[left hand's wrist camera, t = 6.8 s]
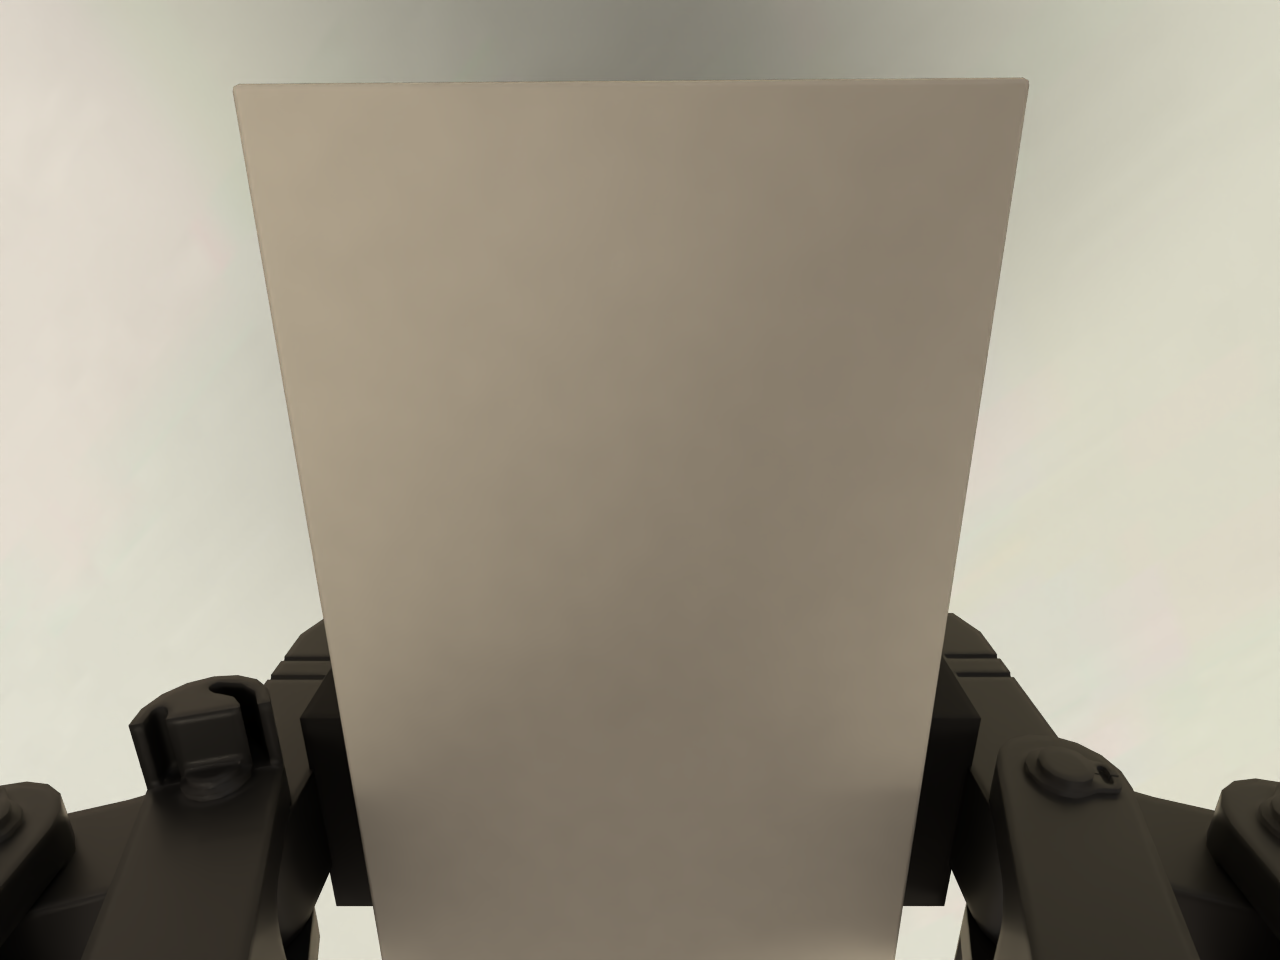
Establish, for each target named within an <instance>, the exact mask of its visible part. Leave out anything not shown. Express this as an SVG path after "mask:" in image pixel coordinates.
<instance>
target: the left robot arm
mask: <svg viewBox="0 0 1280 960" xmlns="http://www.w3.org/2000/svg"><path fill="white" fill-rule="evenodd" d="M129 729H130V732H131V735H132V739H133V742H134V746H135V749H136V752H137V756H138V759H139V762H140V766H141V769H142V772H143V776H144V779H145V783H146V786H147V789H148V790H147V792H146V795H144V796H140V797H137V798H134V799H130V800H126V801H122V802H117V803H113V804H108V805H104V806H99V807H95V808H90V809H86V810H82V811H77V812H73V813H68V814H67V811H66V808H65V806H64V803H63V800H62V797H61V794H60V793H59V792H58V791H56V790H55V789H54V788H52V787H51V786H50V785H48V784H42V783H34V782H21V783H14V784H8V785H1V786H0V960H318V951H319V940H320V934H319V928H318V921H317V916H316V912H315V907H314V906H315V904H316V902H317V900H318V897H319V895H320V893H321V891H322V888H323V886H324V884H325V882H326V879H327V877H328V875H329V873H330V875H331V880H332V886H333V891H334V896H335V901H336V906H373V903H372V898H371V892H370V886H369V880H368V874H367V869H366V863H365V857H364V851H363V845H362V839H361V834H360V828H359V822H358V816H357V810H356V805H355V799H354V793H353V787H352V781H351V775H350V770H349V764H348V758H347V752H346V746H345V741H344V735H343V729H342V723H341V717H340V712H339V706H338V700H337V694H336V688H335V682H334V677H333V671H332V665H331V659H330V653H329V648H328V642H327V636H326V630H325V624H324V619H323V620H321V621H320V622H318V623H317V624H315V625H314V626H312V627H311V628H309V629H308V630H307V631H305V632H304V633H302V634H301V635H300V636H299V638H298V639H297V640H296V642H295V643H294V644H293V646H292V647H291V648H290V650H289V651H288V653H287V654H286V655H285V659H284V661H281V662H280V664H279V665H278V666H277V668H276V669H275V670H274V672H273V673H272V674H271V680H267V681H266V683H265V684H264V685H263V684H262V683H261V682H260V681H258V680H257V679H253V678H248V677H244V676H239V675H233V676H214V677H210V678H206V679H202V680H198V681H194V682H190V683H187V684H184V685H182V686H180V687H178V688H175V689H173V690H171V691H169V692H166V693H164V694H162V695H161V696H159V697H158V698H156V699H155V700H154V701H152V702H151V703H149V704H148V705H146V706H145V707H144V708H142V709H141V710H140V711H139V713H138V714H137V715H136V717H135V718H134V719H133V720H132V722H131V723H130V724H129ZM951 869H952V871H953V874H954V876H955V878H956V880H957V883H958V885H959V887H960V889H961V892H962V894H963V896H964V898H965V901H966V907H965V912H964V916H963V921H962V926H961V930H960V935H959V940H958V945H957V949H956V954H955V959H954V960H1280V782H1275V781H1268V780H1262V779H1247V780H1239V781H1234V782H1232V783H1231V784H1230V785H1228V786H1227V787H1226V788H1224V789H1223V790H1222V791H1221V794H1220V797H1219V800H1218V803H1217V806H1216V808H1215V811H1214V810H1209V809H1205V808H1200V807H1196V806H1191V805H1187V804H1182V803H1178V802H1173V801H1169V800H1164V799H1160V798H1155V797H1151V796H1148V795H1145V794H1141V793H1138V792H1134V791H1133V788H1132V787H1131V785H1130V784H1129V782H1128V781H1127V779H1126V778H1125V776H1124V775H1123V773H1122V772H1121V771H1120V770H1119V769H1118V768H1116V767H1115V766H1114V765H1113V764H1112V763H1110V762H1109V761H1108V760H1107V759H1105V758H1104V757H1103V756H1102V755H1100V754H1098V753H1096V752H1094V751H1092V750H1090V749H1088V748H1086V747H1084V746H1082V745H1080V744H1078V743H1075V742H1072V741H1068V740H1065V739H1061V738H1058V737H1057V735H1056V734H1055V732H1054V731H1053V730H1052V728H1051V727H1050V726H1049V724H1048V723H1047V722H1046V720H1045V719H1044V718H1043V716H1042V715H1041V713H1040V712H1039V711H1038V709H1037V708H1036V707H1035V705H1034V704H1033V703H1032V701H1031V700H1030V699H1029V697H1028V696H1027V694H1026V693H1025V692H1024V690H1023V689H1022V688H1021V686H1020V685H1019V684H1018V682H1017V681H1016V679H1015V678H1014V677H1011V676H1010V671H1009V670H1008V669H1007V667H1006V666H1005V665H1004V663H1003V662H1002V660H1001V659H997V654H996V652H995V651H994V650H993V648H992V647H991V646H990V644H989V643H988V641H987V640H986V639H985V637H984V636H983V635H982V633H981V632H980V631H978V630H977V629H975V628H974V627H972V626H971V625H969V624H968V623H967V622H965V621H964V620H962V619H961V618H959V617H958V616H956V615H955V614H953V613H948V616H947V622H946V629H945V635H944V642H943V648H942V655H941V661H940V668H939V674H938V681H937V687H936V694H935V700H934V707H933V713H932V720H931V726H930V733H929V739H928V746H927V752H926V759H925V765H924V772H923V778H922V785H921V791H920V798H919V804H918V811H917V817H916V824H915V830H914V837H913V843H912V850H911V856H910V863H909V869H908V876H907V882H906V889H905V895H904V902H903V906H944V905H945V899H946V894H947V889H948V884H949V879H950V874H951Z"/></svg>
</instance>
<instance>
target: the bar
mask: <svg viewBox="0 0 1280 960" xmlns="http://www.w3.org/2000/svg"><path fill="white" fill-rule="evenodd" d="M1028 89H1029V81H1028V80H1027V79H1024V78H923V79H800V80H676V81H552V82H428V83H304V84H238V85H236V86H234V87H233V95H234V101H235V107H236V113H237V118H238V124H239V130H240V136H241V142H242V147H243V153H244V159H245V165H246V171H247V176H248V182H249V188H250V194H251V200H252V206H253V211H254V217H255V223H256V229H257V235H258V240H259V246H260V252H261V258H262V264H263V270H264V275H265V281H266V287H267V293H268V299H269V304H270V310H271V316H272V322H273V328H274V333H275V339H276V345H277V351H278V357H279V363H280V368H281V374H282V380H283V386H284V392H285V397H286V403H287V409H288V415H289V421H290V427H291V432H292V438H293V444H294V450H295V456H296V461H297V467H298V473H299V479H300V485H301V491H302V496H303V502H304V508H305V514H306V520H307V525H308V531H309V537H310V543H311V549H312V554H313V560H314V566H315V572H316V578H317V584H318V589H319V595H320V601H321V607H322V613H323V618H324V624H325V630H326V636H327V642H328V648H329V653H330V659H331V665H332V671H333V677H334V682H335V688H336V694H337V700H338V706H339V712H340V717H341V723H342V729H343V735H344V741H345V746H346V752H347V758H348V764H349V770H350V775H351V781H352V787H353V793H354V799H355V805H356V810H357V816H358V822H359V828H360V834H361V839H362V845H363V851H364V857H365V863H366V869H367V874H368V880H369V886H370V892H371V898H372V903H373V909H374V915H375V921H376V927H377V932H378V938H379V944H380V950H381V956H382V960H895V954H896V947H897V941H898V934H899V928H900V921H901V915H902V908H903V902H904V895H905V889H906V882H907V876H908V869H909V863H910V856H911V850H912V843H913V837H914V830H915V824H916V817H917V811H918V804H919V798H920V791H921V785H922V778H923V772H924V765H925V759H926V752H927V746H928V739H929V733H930V726H931V720H932V713H933V707H934V700H935V694H936V687H937V681H938V674H939V668H940V661H941V655H942V648H943V642H944V635H945V629H946V622H947V616H948V609H949V603H950V596H951V590H952V583H953V577H954V570H955V564H956V557H957V551H958V544H959V538H960V531H961V525H962V518H963V511H964V505H965V498H966V492H967V485H968V479H969V472H970V466H971V459H972V453H973V446H974V440H975V433H976V427H977V420H978V414H979V407H980V401H981V394H982V388H983V381H984V375H985V368H986V362H987V355H988V349H989V342H990V336H991V329H992V323H993V316H994V310H995V303H996V297H997V290H998V284H999V277H1000V271H1001V264H1002V258H1003V251H1004V245H1005V238H1006V232H1007V225H1008V219H1009V212H1010V206H1011V199H1012V193H1013V186H1014V180H1015V173H1016V167H1017V160H1018V154H1019V147H1020V141H1021V134H1022V128H1023V121H1024V115H1025V108H1026V102H1027V95H1028Z"/></svg>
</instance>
